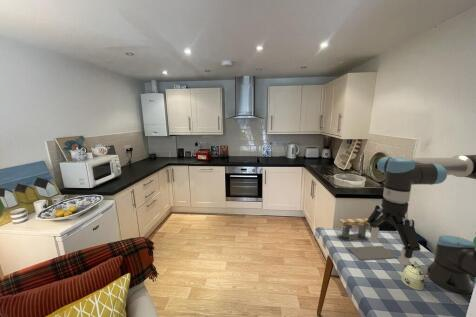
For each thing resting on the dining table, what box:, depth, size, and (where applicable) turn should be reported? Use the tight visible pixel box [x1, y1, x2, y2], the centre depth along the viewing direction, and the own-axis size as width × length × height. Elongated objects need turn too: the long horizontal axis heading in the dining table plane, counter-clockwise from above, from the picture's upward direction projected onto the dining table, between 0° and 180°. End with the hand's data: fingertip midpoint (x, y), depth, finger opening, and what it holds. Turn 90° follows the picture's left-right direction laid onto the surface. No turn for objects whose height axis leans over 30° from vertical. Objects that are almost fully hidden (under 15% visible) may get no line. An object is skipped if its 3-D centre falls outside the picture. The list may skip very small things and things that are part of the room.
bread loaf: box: [338, 217, 371, 229], centre depth 132 cm, size 20×4×4 cm, turn 96°
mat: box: [346, 245, 399, 261], centre depth 118 cm, size 24×11×1 cm, turn 96°
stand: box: [338, 225, 369, 242], centre depth 133 cm, size 17×6×11 cm, turn 96°
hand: (387, 252), depth 75 cm, fingers open, 13 cm apart
